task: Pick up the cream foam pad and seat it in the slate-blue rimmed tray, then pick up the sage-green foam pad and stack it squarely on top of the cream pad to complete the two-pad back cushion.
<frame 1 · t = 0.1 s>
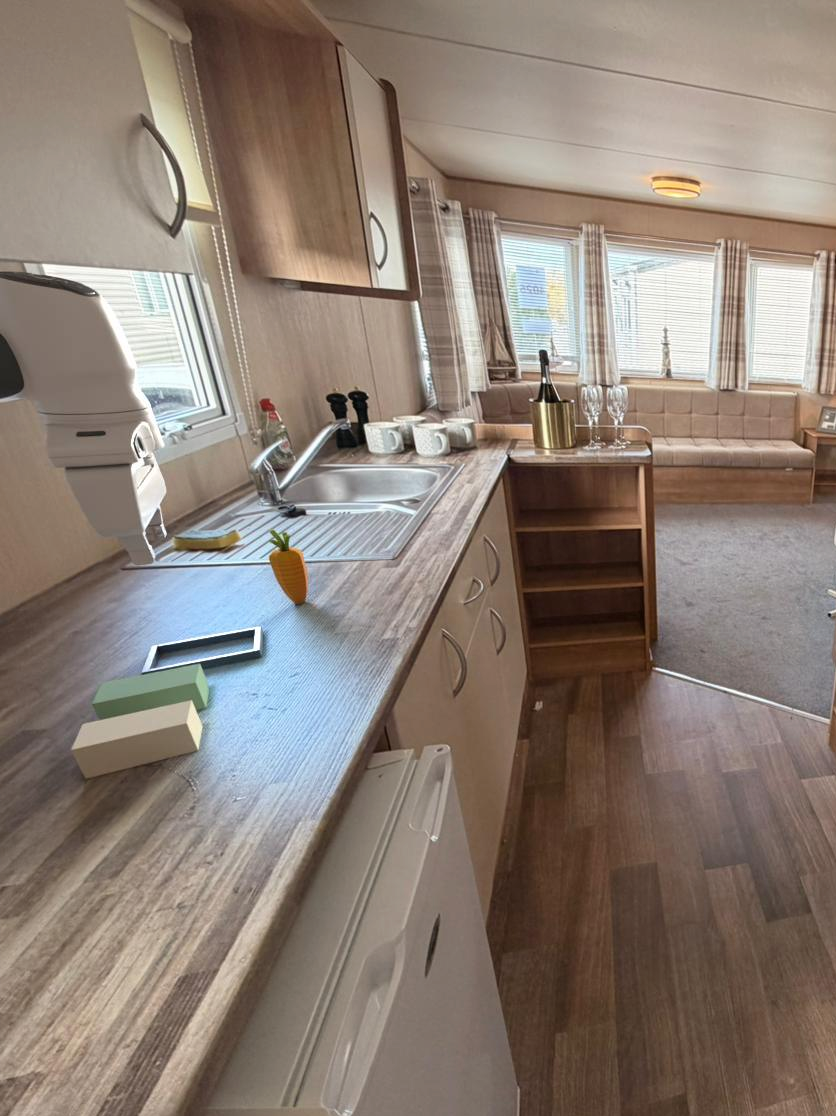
hand: (151, 550, 77), 25 cm above the counter, tool pointing down, fingers open, 8 cm apart
cream pad: (150, 756, 80), on the counter
carrot: (301, 607, 119), on the counter
sage pad: (162, 713, 88), on the counter
pad tray: (209, 659, 101), on the counter
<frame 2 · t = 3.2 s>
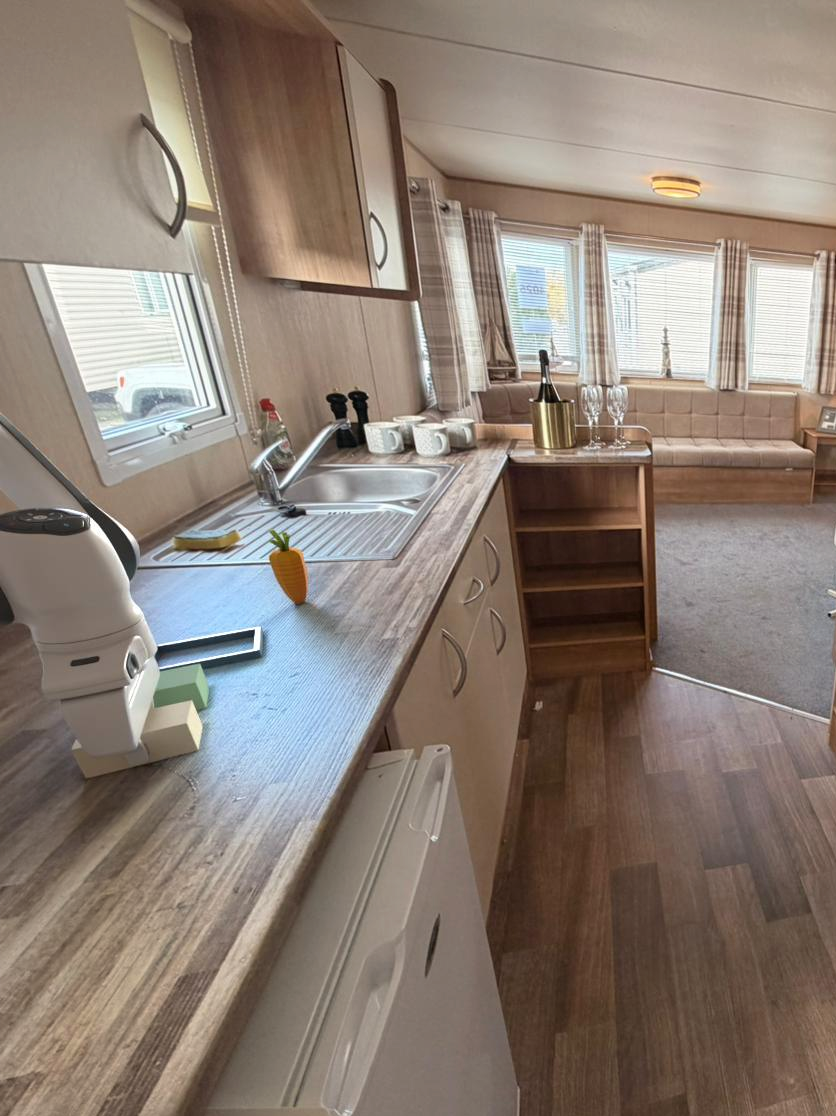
hand: (145, 744, 79), 2 cm above the counter, tool pointing down, fingers closed on cream pad, 6 cm apart
cream pad: (150, 756, 80), on the counter, touching gripper
everything else where it was.
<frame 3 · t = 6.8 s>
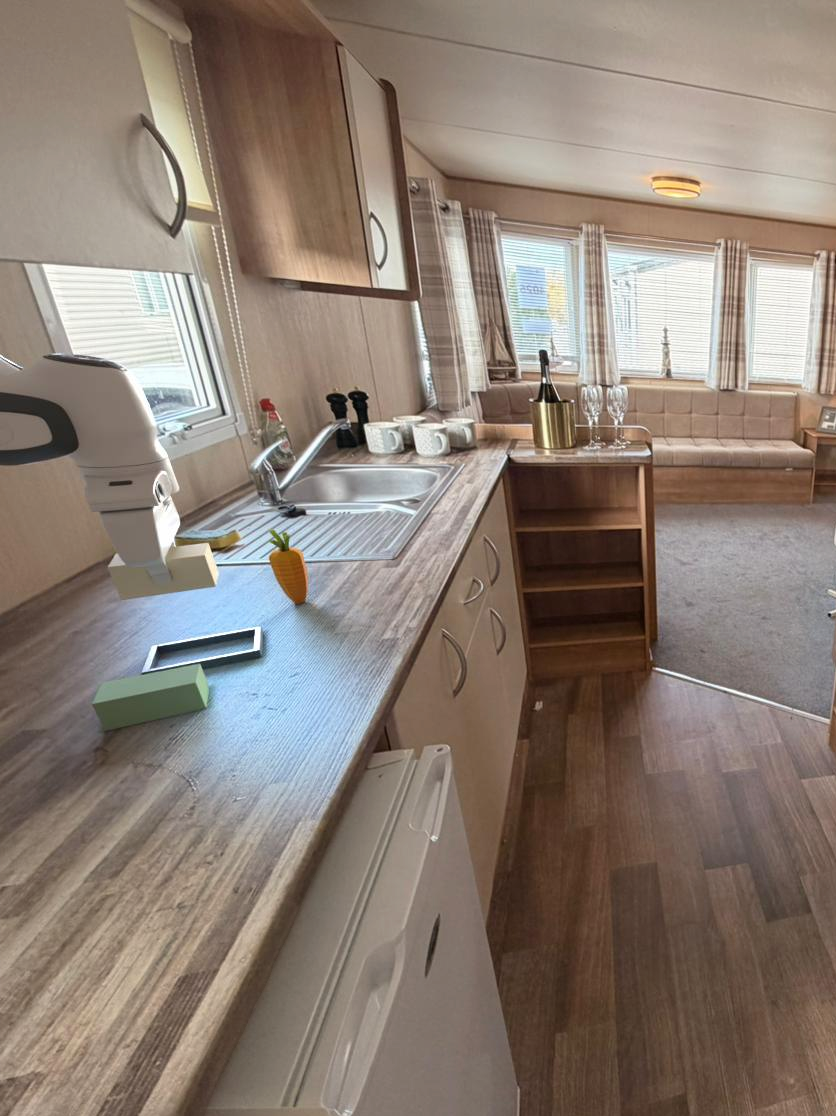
hand: (168, 575, 92), 16 cm above the counter, tool pointing down, fingers closed on cream pad, 6 cm apart
cream pad: (172, 586, 93), point 14 cm above the counter, touching gripper
everything else where it was.
when the fingers open (2 cm above the counter, at t = 10.5 s): cream pad stays where it is, resting on pad tray.
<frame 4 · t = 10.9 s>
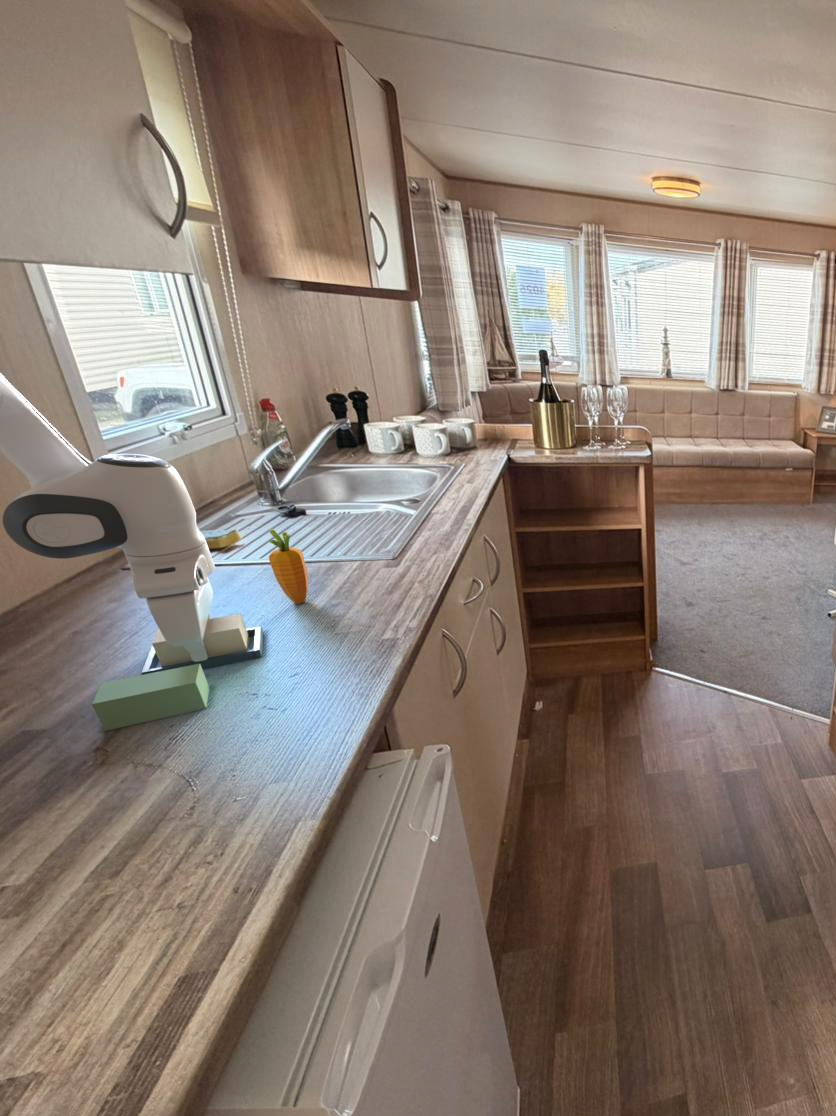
hand: (204, 646, 100), 2 cm above the counter, tool pointing down, fingers open, 8 cm apart
cream pad: (209, 655, 101), point 1 cm above the counter, touching pad tray
everything else where it was.
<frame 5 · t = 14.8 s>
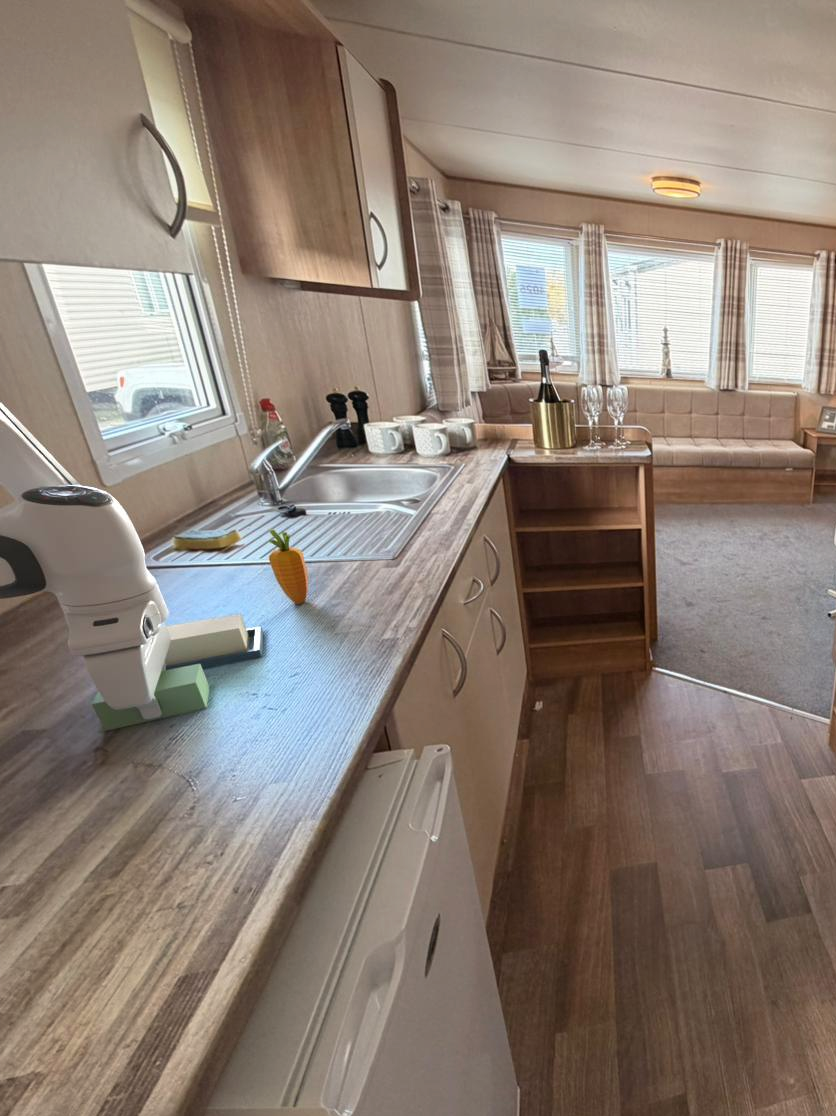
hand: (158, 702, 87), 2 cm above the counter, tool pointing down, fingers closed on sage pad, 6 cm apart
sage pad: (162, 713, 88), on the counter, touching gripper
everything else where it was.
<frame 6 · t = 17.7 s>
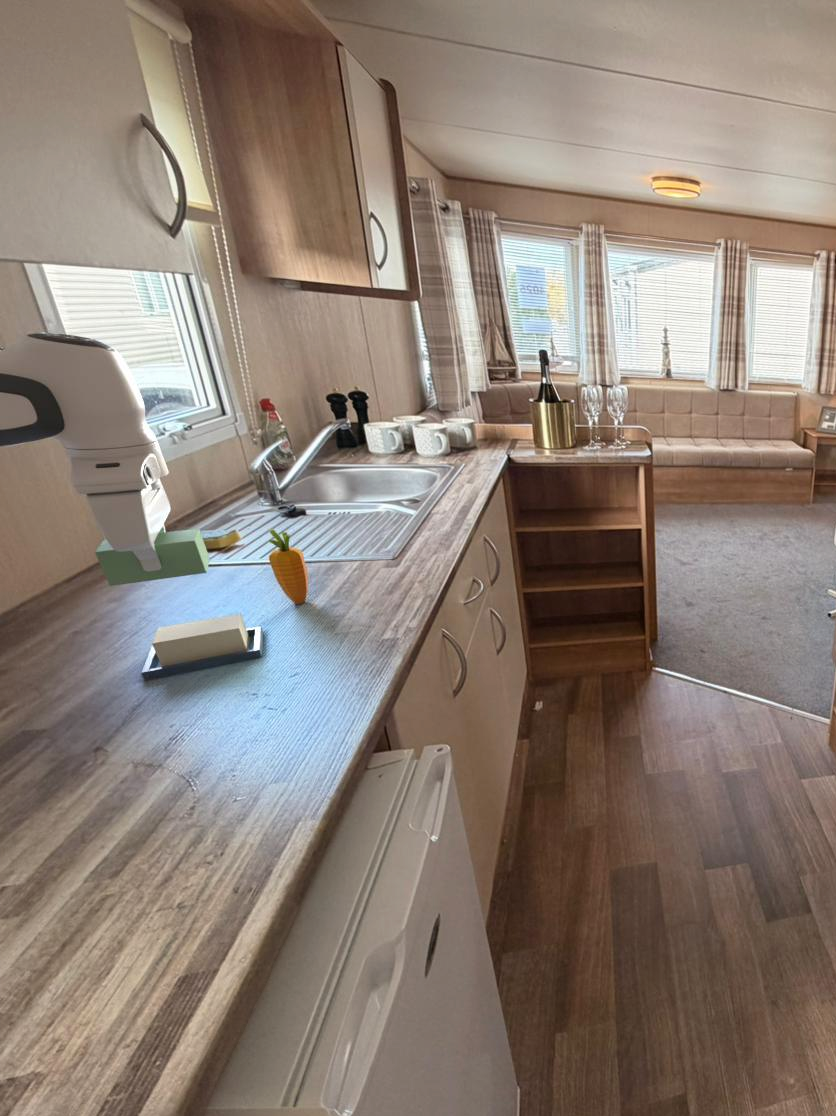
hand: (158, 560, 91), 18 cm above the counter, tool pointing down, fingers closed on sage pad, 6 cm apart
sage pad: (162, 572, 92), point 16 cm above the counter, touching gripper
everything else where it was.
when the fingers open (7 cm above the counter, at t = 21.0 s): sage pad stays where it is, resting on cream pad.
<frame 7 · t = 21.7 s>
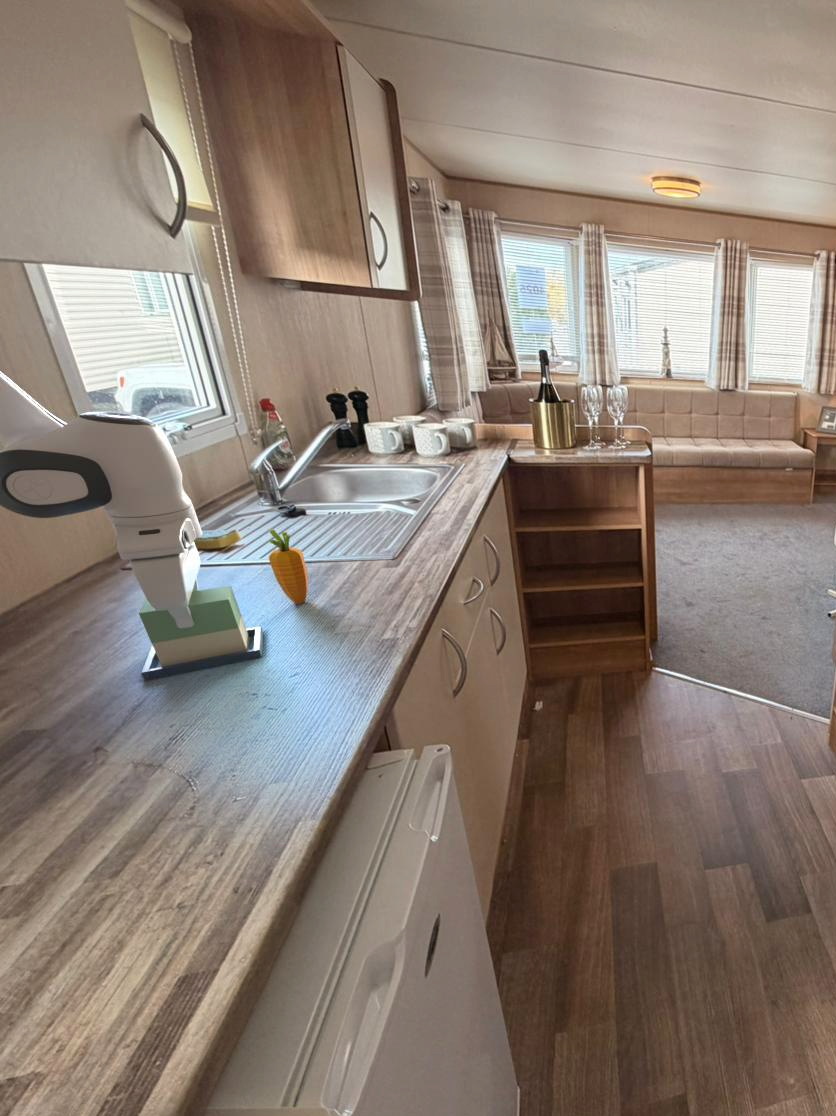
hand: (190, 613, 98), 8 cm above the counter, tool pointing down, fingers open, 8 cm apart
cream pad: (209, 655, 101), point 1 cm above the counter, touching pad tray, sage pad
sage pad: (198, 627, 99), point 6 cm above the counter, touching cream pad
everything else where it was.
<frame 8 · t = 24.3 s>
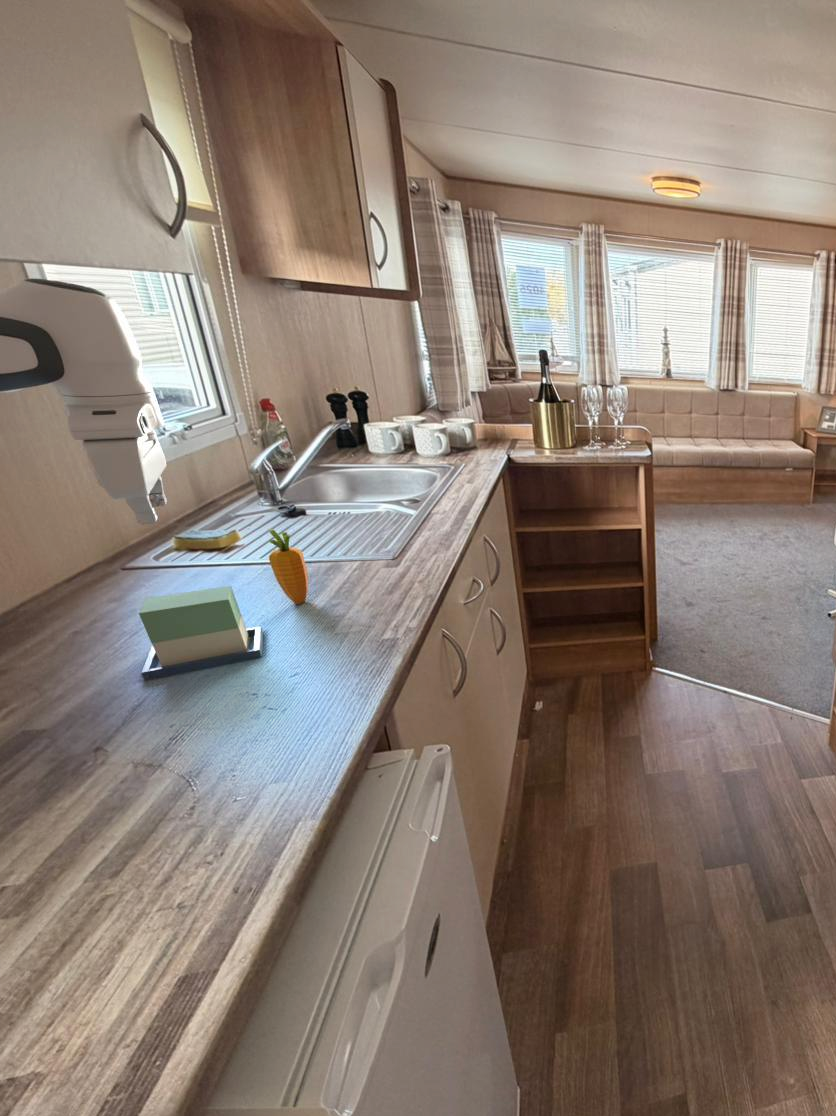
hand: (154, 513, 91), 24 cm above the counter, tool pointing down, fingers open, 8 cm apart
nothing on the counter moved.
at the end: cream pad 0.1 cm off-centre in the pad tray, point 0.6 cm above the pad tray's base; sage pad 0.1 cm off-centre on the pad tray, point 5.6 cm above the pad tray's base; sage pad tilted 0° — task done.
